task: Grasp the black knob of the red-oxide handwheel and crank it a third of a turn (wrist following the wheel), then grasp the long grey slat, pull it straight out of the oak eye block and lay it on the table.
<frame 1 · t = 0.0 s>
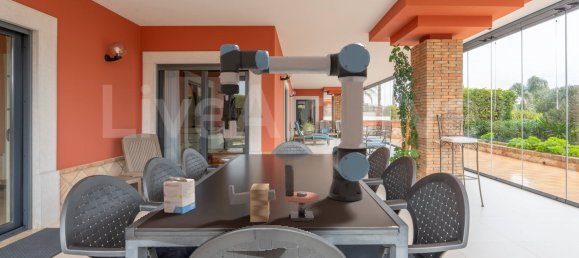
hand: (230, 137, 131), 28 cm above the table, fingers open, 13 cm apart
wheel post: (301, 217, 117), on the table
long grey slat: (253, 201, 116), point 6 cm above the table, tilted 6°, touching eye block
ink box: (180, 210, 126), on the table
handwheel: (301, 181, 116), point 13 cm above the table, hinge at 0.0°
eye block: (260, 217, 117), on the table
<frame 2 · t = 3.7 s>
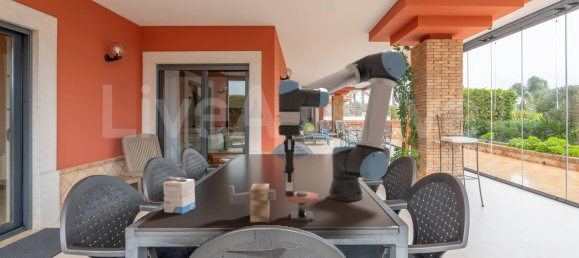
hand: (289, 189, 116), 10 cm above the table, fingers closed on handwheel, 3 cm apart
handwheel: (301, 181, 116), point 13 cm above the table, hinge at 0.0°, touching gripper
everything else where it was.
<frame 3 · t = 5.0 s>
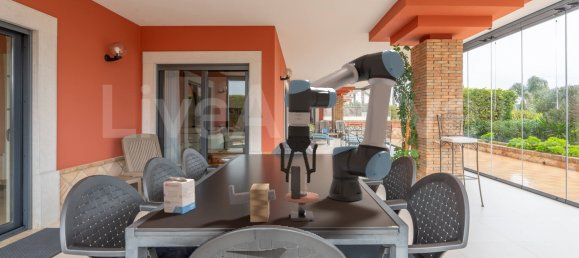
hand: (297, 191, 113), 10 cm above the table, fingers open, 5 cm apart
handwheel: (301, 181, 116), point 13 cm above the table, hinge at 58.9°, touching gripper
everything else where it was.
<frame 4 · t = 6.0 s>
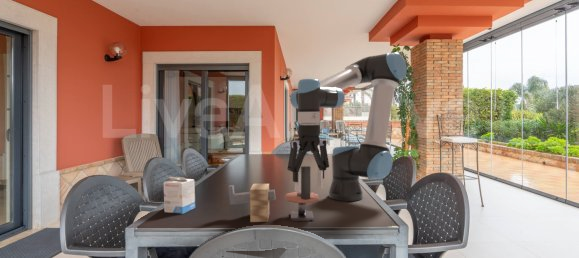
hand: (308, 189, 112), 11 cm above the table, fingers open, 8 cm apart
handwheel: (301, 181, 116), point 13 cm above the table, hinge at 104.3°
everything else where it was.
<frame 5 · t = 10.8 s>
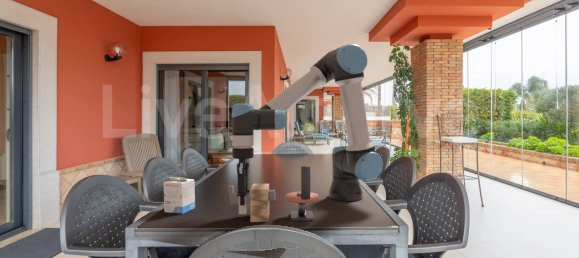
hand: (243, 212, 116), 2 cm above the table, fingers closed on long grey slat, 3 cm apart
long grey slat: (253, 201, 116), point 6 cm above the table, tilted 6°, touching eye block, gripper
everything else where it was.
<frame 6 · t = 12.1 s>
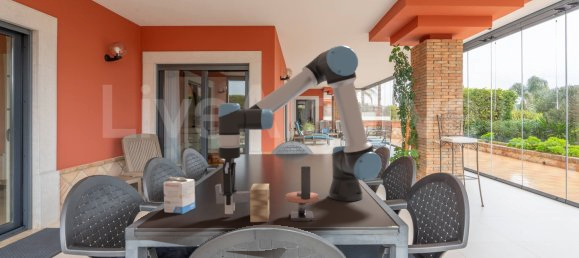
hand: (229, 211, 116), 2 cm above the table, fingers closed on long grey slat, 3 cm apart
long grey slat: (239, 201, 116), point 6 cm above the table, touching gripper
everything else where it was.
when the fingers open (1 cm above the table, at t = 13.8 s): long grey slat drops 5 cm, on the table.
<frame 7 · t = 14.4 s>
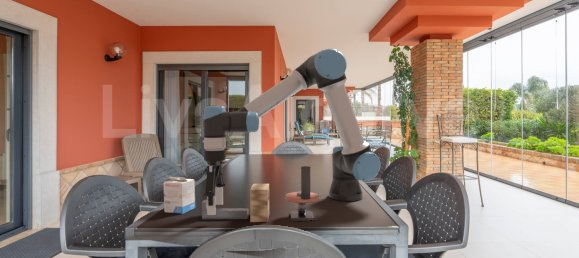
hand: (215, 209, 116), 3 cm above the table, fingers open, 12 cm apart
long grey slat: (225, 218, 116), on the table
everything else where it was.
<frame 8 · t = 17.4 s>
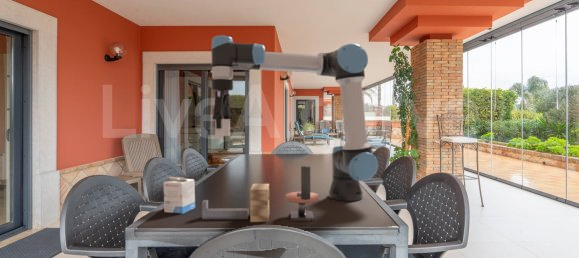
hand: (223, 137, 120), 29 cm above the table, fingers open, 13 cm apart
nothing on the table moved.
at the end: handwheel at +104° (first picture: +0°); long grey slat inside the target area (5.4 cm from its centre), on the table; the gripper is holding nothing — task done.
